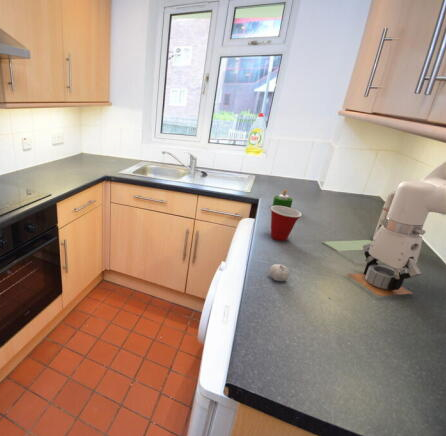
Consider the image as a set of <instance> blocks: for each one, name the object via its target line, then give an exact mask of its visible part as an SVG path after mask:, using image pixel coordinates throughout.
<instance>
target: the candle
mask: <svg viewBox="0 0 446 436" xmlns="http://www.w3.org/2000/svg"><path fill="white" fill-rule="evenodd" d="M287 192H288V191H287V189H284V190H283V191H282V194H279V195H274V196H273V201H272V205H271V207H272V206H284V207H289V208H292V204H293V201H294V199H293V198H292V197H290V196H289V195H288V194H287Z"/></svg>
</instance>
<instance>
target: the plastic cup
mask: <svg viewBox="0 0 446 436" xmlns="http://www.w3.org/2000/svg"><path fill="white" fill-rule="evenodd" d="M302 216H303V214H302V213H301V211H299V210H297V209H295V208H292V207H291V208H289V207H284V206H272V205H271V206H270V217H271V218H270V237H271V239H272V240H275V241H278V242H279V241H280V242H286V241H287V240H288V239H289V237H290V234H291V232H292V231H293V228H294V227H295V224H296V222H297V221H298V220H299V219H300V218H301V217H302Z"/></svg>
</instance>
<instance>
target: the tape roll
mask: <svg viewBox="0 0 446 436" xmlns="http://www.w3.org/2000/svg"><path fill="white" fill-rule="evenodd" d="M377 271H383V272H386V273H387V274H388V275H384V274H382V273H379V272H377ZM392 277H395V276H394V269H393V268H392V267H390V266H386V265H382V264H378V265H370V266H369V268H368V271H367V273H366V276H365V279H366V281H367V282H369V283H370V284H372V285H374V286H376V287H379V288H383V289H388V285H389V283H390V280H391V278H392Z"/></svg>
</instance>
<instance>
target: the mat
mask: <svg viewBox="0 0 446 436" xmlns="http://www.w3.org/2000/svg"><path fill="white" fill-rule="evenodd" d="M372 241H373V240H370V239H360V240H359V239H358V240H334V241H322V243H323V244H324V245H325V246H328V247H329V248H330V249H332V250H334V251H335V252H342V251H343V252H344V251H345V252H347V251H364V249H363V245H367V244H370V243H372Z"/></svg>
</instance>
